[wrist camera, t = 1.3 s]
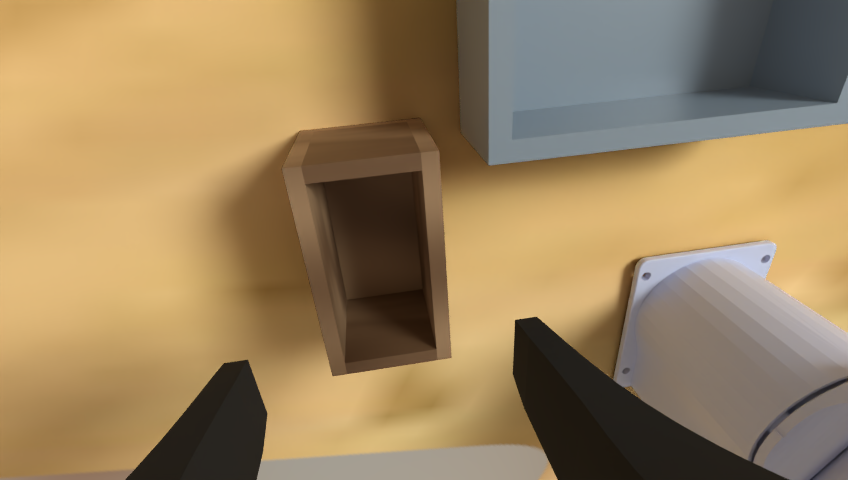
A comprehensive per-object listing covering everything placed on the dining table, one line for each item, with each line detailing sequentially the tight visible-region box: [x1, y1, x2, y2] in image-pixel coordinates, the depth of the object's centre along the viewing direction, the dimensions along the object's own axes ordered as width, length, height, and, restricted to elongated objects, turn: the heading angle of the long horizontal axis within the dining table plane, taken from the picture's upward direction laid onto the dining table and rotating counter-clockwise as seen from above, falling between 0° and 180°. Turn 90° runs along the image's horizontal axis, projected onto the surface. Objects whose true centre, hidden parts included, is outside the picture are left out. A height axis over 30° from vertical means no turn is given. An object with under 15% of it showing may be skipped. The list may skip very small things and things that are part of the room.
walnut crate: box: [282, 118, 451, 376], centre depth 18 cm, size 9×5×5 cm, turn 4°
